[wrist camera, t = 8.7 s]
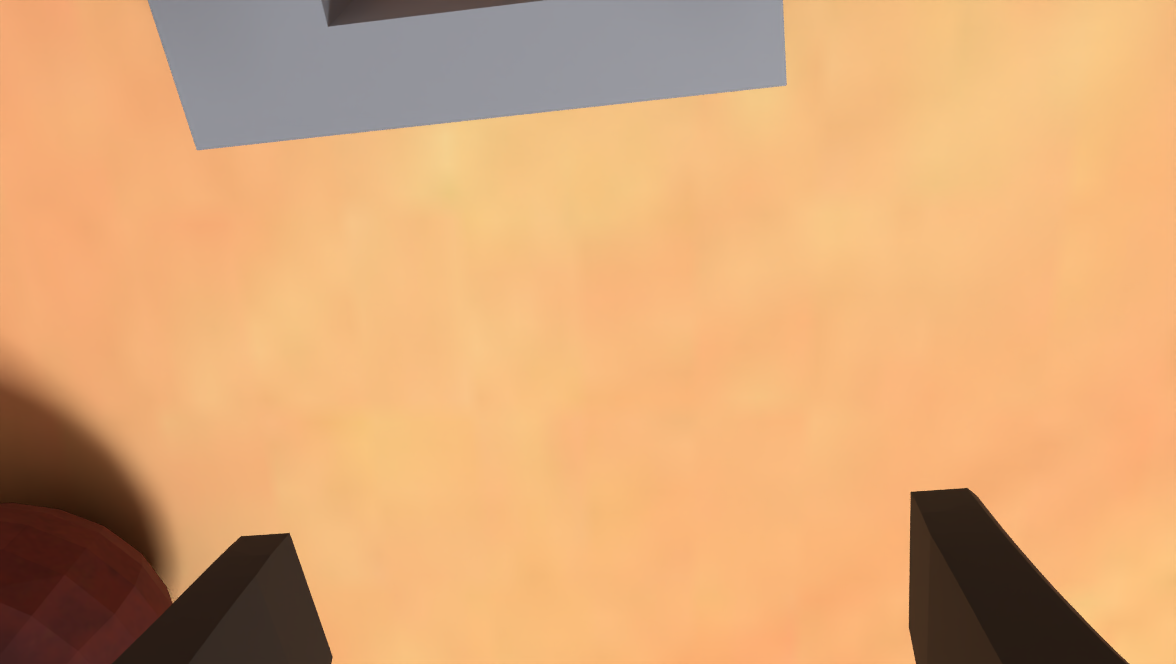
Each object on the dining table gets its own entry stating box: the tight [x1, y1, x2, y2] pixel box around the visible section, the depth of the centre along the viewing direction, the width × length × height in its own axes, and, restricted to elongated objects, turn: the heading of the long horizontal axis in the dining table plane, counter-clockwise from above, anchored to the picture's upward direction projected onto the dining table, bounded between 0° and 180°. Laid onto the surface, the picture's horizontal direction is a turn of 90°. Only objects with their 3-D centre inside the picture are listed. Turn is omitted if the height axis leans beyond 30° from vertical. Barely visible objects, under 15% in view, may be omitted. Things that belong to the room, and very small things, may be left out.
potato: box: [0, 503, 173, 664], centre depth 25 cm, size 7×8×6 cm
